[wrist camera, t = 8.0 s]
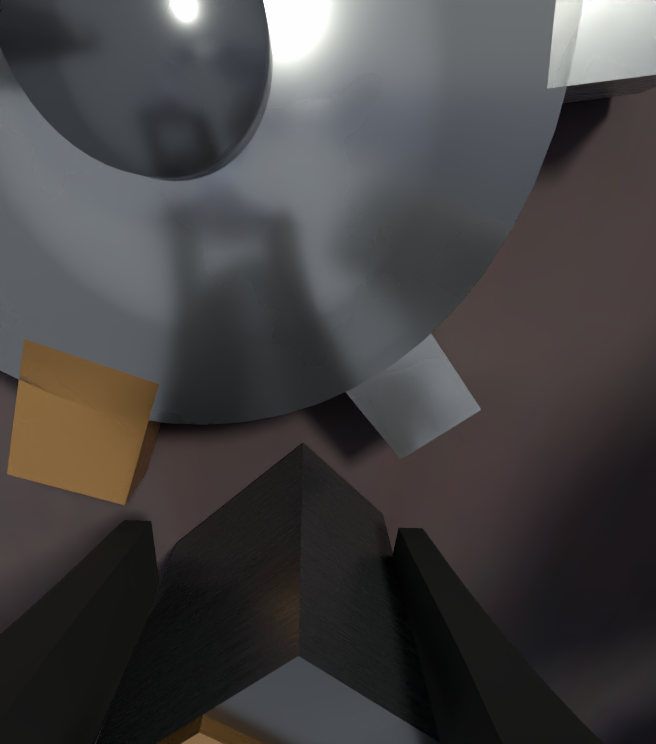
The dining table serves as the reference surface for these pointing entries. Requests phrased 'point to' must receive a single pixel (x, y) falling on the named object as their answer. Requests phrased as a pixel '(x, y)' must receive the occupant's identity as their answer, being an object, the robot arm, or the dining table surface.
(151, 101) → the sprocket
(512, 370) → the dining table surface
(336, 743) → the banded cube
